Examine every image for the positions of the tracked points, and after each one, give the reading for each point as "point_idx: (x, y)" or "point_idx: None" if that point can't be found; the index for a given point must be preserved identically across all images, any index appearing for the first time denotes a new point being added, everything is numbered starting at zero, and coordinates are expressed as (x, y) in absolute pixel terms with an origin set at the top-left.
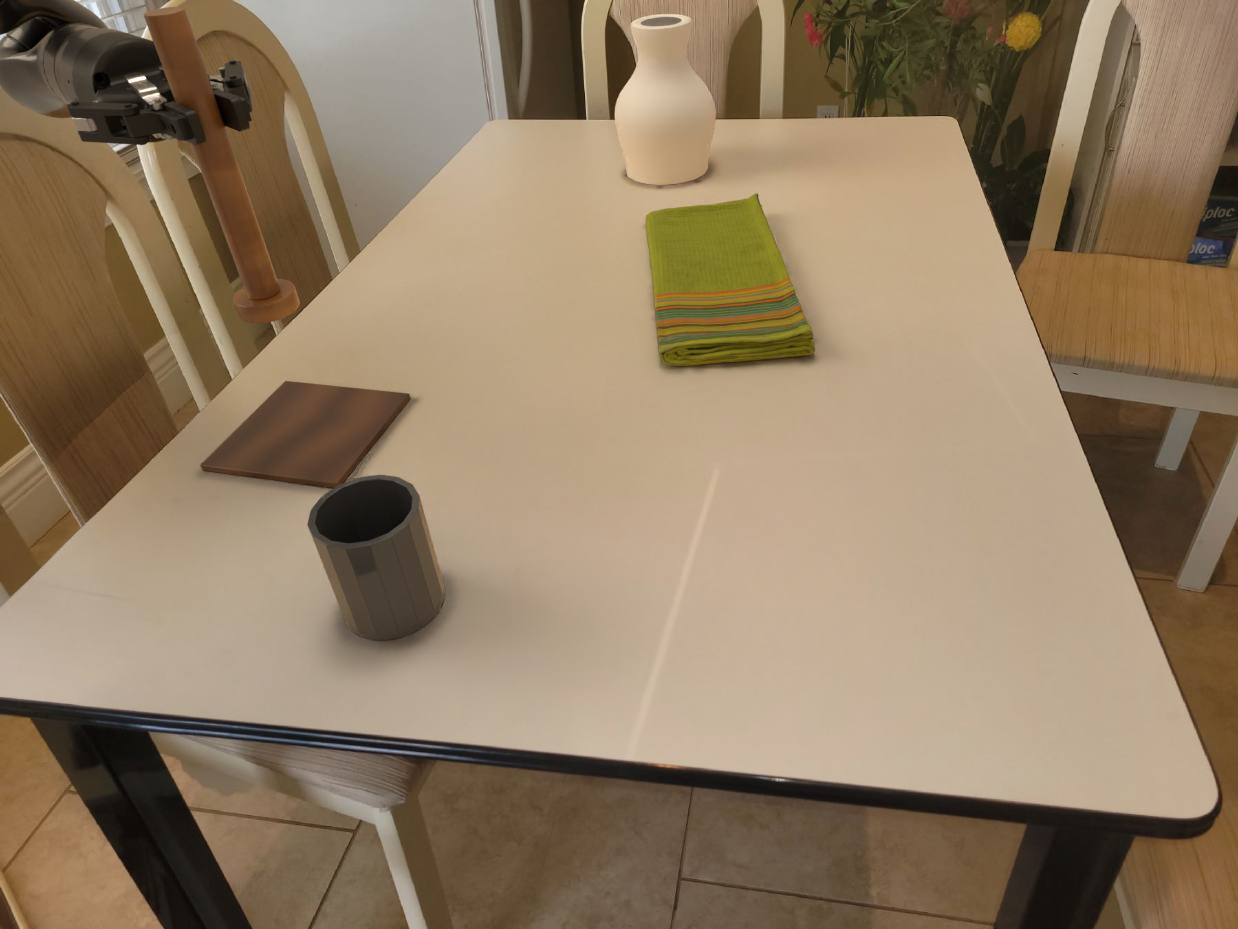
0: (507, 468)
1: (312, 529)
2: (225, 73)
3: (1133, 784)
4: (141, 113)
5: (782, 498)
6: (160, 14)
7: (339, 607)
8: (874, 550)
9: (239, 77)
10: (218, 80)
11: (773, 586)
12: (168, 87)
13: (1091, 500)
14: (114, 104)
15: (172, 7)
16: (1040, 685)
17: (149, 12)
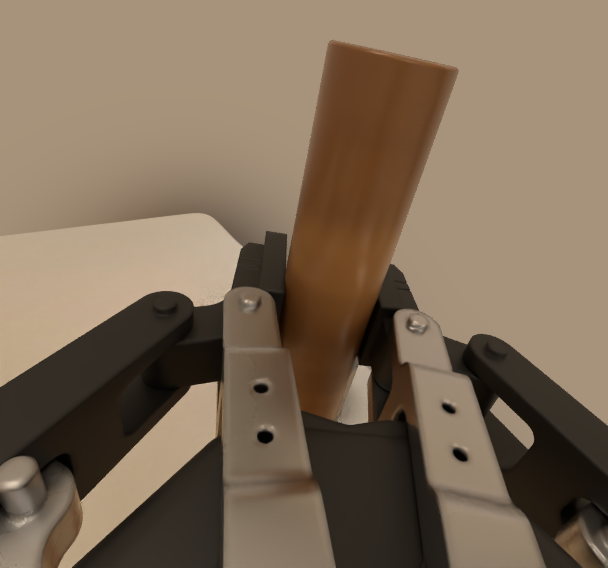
0: (161, 435)
1: (357, 359)
2: (121, 367)
3: (208, 220)
4: (459, 346)
5: (117, 300)
6: (412, 57)
7: (340, 413)
8: (140, 268)
9: (154, 296)
10: (74, 497)
11: (184, 287)
12: (347, 438)
13: (68, 228)
14: (543, 405)
15: (357, 46)
16: (185, 232)
17: (438, 64)
